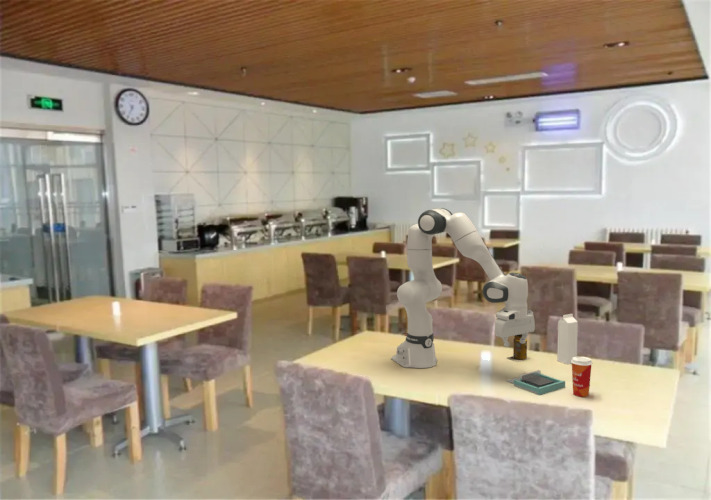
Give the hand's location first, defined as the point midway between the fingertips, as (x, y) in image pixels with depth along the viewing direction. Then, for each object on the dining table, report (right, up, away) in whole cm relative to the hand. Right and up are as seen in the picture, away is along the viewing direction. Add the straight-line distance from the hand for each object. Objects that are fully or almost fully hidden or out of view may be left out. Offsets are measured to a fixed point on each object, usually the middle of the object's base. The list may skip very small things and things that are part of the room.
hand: (514, 344), depth 243 cm
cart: (+7, -14, -9) cm, 18 cm away
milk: (+30, -12, +22) cm, 39 cm away
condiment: (+10, -11, +28) cm, 32 cm away
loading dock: (+6, -16, -7) cm, 18 cm away
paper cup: (+20, -16, -19) cm, 32 cm away
